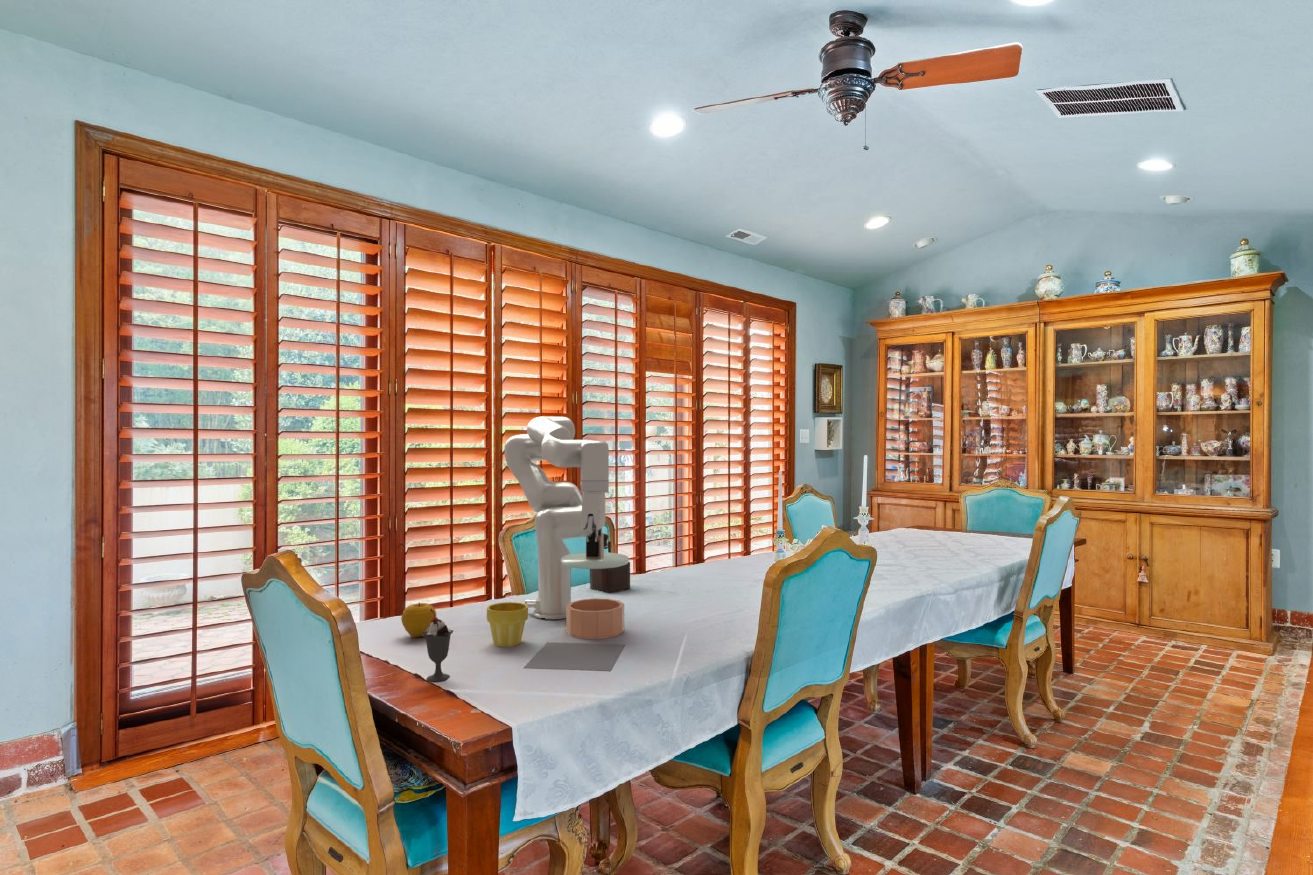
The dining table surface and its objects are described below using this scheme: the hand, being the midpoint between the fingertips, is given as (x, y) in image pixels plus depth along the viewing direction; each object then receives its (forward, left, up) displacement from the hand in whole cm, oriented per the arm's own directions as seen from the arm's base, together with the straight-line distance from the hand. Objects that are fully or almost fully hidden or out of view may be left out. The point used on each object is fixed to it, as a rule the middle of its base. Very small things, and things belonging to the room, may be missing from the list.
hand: (594, 554), depth 192 cm
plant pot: (-20, -13, -21) cm, 32 cm away
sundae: (-27, -39, -21) cm, 52 cm away
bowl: (0, 0, -21) cm, 21 cm away
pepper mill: (-8, +57, -21) cm, 61 cm away
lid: (0, 0, -2) cm, 2 cm away
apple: (-46, -8, -21) cm, 51 cm away
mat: (0, -22, -21) cm, 30 cm away
